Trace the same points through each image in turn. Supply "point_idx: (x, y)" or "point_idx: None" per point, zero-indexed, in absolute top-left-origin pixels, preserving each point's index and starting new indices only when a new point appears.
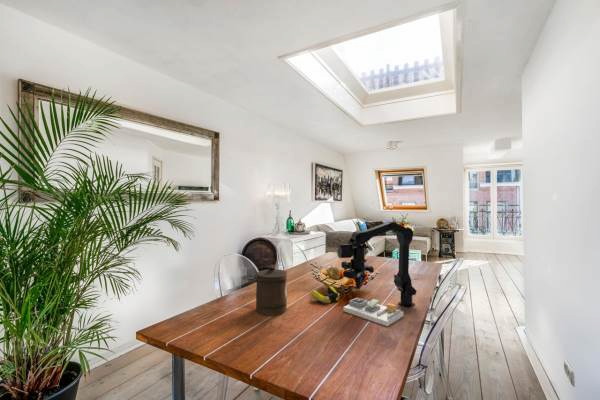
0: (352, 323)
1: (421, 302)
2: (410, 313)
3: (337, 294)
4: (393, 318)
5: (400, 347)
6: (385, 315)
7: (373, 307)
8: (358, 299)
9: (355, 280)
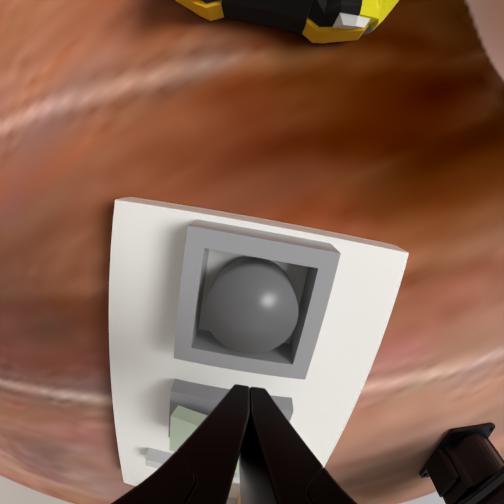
0: (27, 332)
1: None
2: None
3: (336, 13)
4: None
5: (46, 483)
6: None
7: None
8: (272, 305)
9: (149, 500)
